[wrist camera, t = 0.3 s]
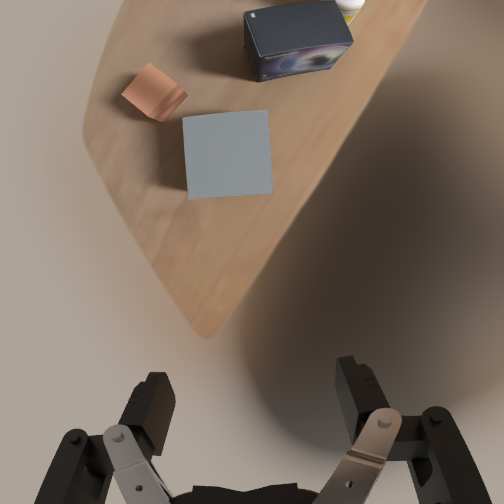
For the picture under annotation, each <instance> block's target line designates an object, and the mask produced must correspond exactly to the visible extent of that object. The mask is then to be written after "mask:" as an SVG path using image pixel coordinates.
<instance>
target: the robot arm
mask: <svg viewBox="0 0 504 504" xmlns="http://www.w3.org/2000/svg"><path fill="white" fill-rule="evenodd" d="M335 389H336V394H337V397H338V400H339V404H340V407H341V410H342V414H343V417H344V420H345V423H346V427H347V430H348V434H349V437H350V441H351V444H352V445H354V446H353V447H352V449H351V450H350V452H349V451H348V452H347V453H346V454H345V456H344V457H343V459H342V460H341V462H340V464H339V465H338V467H337V468H336V470H335V471H334V473H333V475H332V476H331V477H330V479H329V480H328V482H327V483H326V485H325V486H324V488H323V489H322V490H321V492H320V493H317V492H314V491H311V490H306V489H298V487H297V483H290V484H280V485H270V486H266V487H263V488H259V489H255V490H251V491H246V492H240V491H236V490H231V489H226V488H221V487H214V486H193V490H192V492H187V493H184V494H181V495H178V496H176V497H174V496H173V495H172V493H171V492H170V491H169V489H168V488H167V486H166V485H165V483H164V481H163V480H162V478H161V477H160V475H159V473H158V472H157V470H156V468H155V467H154V465H153V463H152V462H151V459H152V455H155V456H161V453H162V450H163V447H164V443H165V439H166V436H167V432H168V429H169V425H170V422H171V418H172V415H173V411H174V408H175V402H176V401H175V394H174V392H173V389H172V386H171V384H170V381H169V379H168V376H167V374H166V373H165V372H150V373H149V374H148V376H147V379H146V381H145V382H140V383H139V384H138V385H137V386H136V387H135V388H134V390H133V392H132V394H131V397H130V399H129V401H128V403H127V405H126V407H125V410H124V412H123V414H122V416H121V419H120V420H119V423H118V425H114V426H111V427H109V428H108V429H107V430H106V431H105V432H104V434H103V435H95V436H88V435H87V433H86V432H85V431H84V430H82V429H73V430H70V431H68V432H67V433H66V434H65V435H64V437H63V439H62V441H61V443H60V445H59V448H58V450H57V452H56V454H55V456H54V458H53V460H52V463H51V465H50V467H49V469H48V472H47V474H46V476H45V479H44V481H43V483H42V486H41V488H40V491H39V493H38V495H37V498H36V500H35V503H34V504H105V500H106V496H107V492H108V489H109V486H110V482H111V479H112V476H113V475H114V477H115V480H116V482H117V484H118V486H119V489H120V491H121V493H122V495H123V497H124V499H125V501H126V504H364V503H365V501H366V500H367V498H368V496H369V494H370V492H371V490H372V488H373V486H374V485H375V483H376V481H377V479H378V477H379V475H380V473H381V471H382V469H383V467H384V465H385V463H386V461H407V464H408V467H409V470H410V473H411V477H412V480H413V483H414V487H415V490H416V493H417V497H418V500H419V504H492V502H491V500H490V497H489V495H488V492H487V490H486V487H485V485H484V482H483V481H482V478H481V475H480V473H479V471H478V469H477V466H476V464H475V462H474V460H473V458H472V456H471V453H470V451H469V449H468V447H467V445H466V443H465V441H464V439H463V437H462V435H461V433H460V431H459V429H458V427H457V425H456V423H455V421H454V419H453V418H452V416H451V414H450V412H449V411H448V410H447V409H445V408H443V407H439V406H435V407H430V408H428V409H426V410H425V411H424V412H423V413H422V415H421V416H402V415H400V414H399V413H398V412H397V411H395V410H394V409H391V408H390V406H389V404H388V402H387V400H386V397H385V395H384V393H383V391H382V389H381V387H380V385H379V383H378V381H377V379H376V378H375V375H374V373H373V371H372V369H370V368H369V367H368V366H367V365H365V364H360V365H357V364H356V362H355V360H354V357H353V356H352V355H351V356H345V357H340V358H337V359H336V372H335Z"/></svg>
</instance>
